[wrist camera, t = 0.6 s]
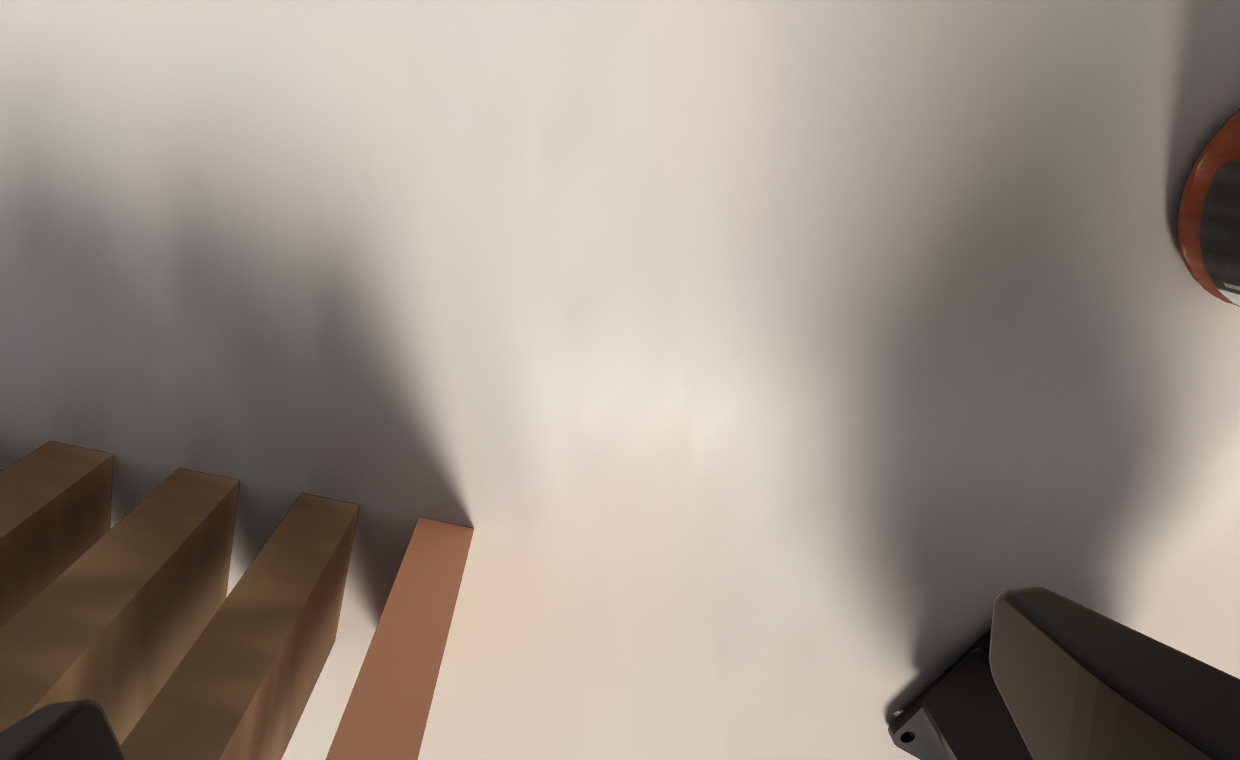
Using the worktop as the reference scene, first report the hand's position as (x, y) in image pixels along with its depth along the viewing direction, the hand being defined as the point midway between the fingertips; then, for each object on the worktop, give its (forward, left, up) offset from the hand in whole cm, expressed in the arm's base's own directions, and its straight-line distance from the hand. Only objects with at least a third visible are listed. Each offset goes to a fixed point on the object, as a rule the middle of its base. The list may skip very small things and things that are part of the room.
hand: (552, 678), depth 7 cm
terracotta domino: (-1, +9, -13) cm, 16 cm away
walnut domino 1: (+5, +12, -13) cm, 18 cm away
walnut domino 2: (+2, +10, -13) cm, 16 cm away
